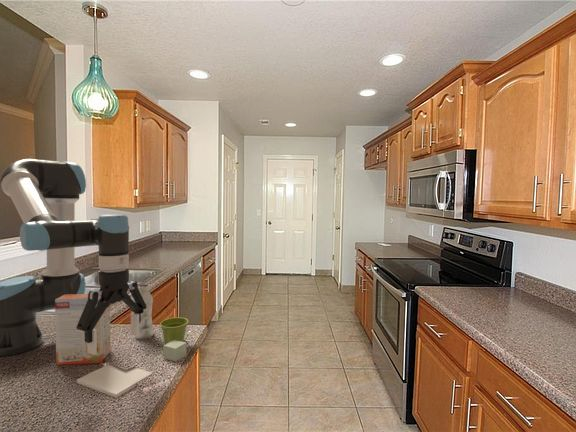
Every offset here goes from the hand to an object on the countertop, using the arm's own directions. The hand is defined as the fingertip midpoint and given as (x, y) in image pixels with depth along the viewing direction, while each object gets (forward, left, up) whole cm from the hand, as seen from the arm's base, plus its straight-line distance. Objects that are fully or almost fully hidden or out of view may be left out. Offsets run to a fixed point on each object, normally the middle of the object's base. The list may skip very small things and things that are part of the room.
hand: (115, 343), depth 95 cm
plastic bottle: (-15, +23, -11) cm, 30 cm away
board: (0, 0, -11) cm, 11 cm away
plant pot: (-1, +24, -11) cm, 26 cm away
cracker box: (-19, +3, -11) cm, 22 cm away
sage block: (+6, +17, -11) cm, 21 cm away
